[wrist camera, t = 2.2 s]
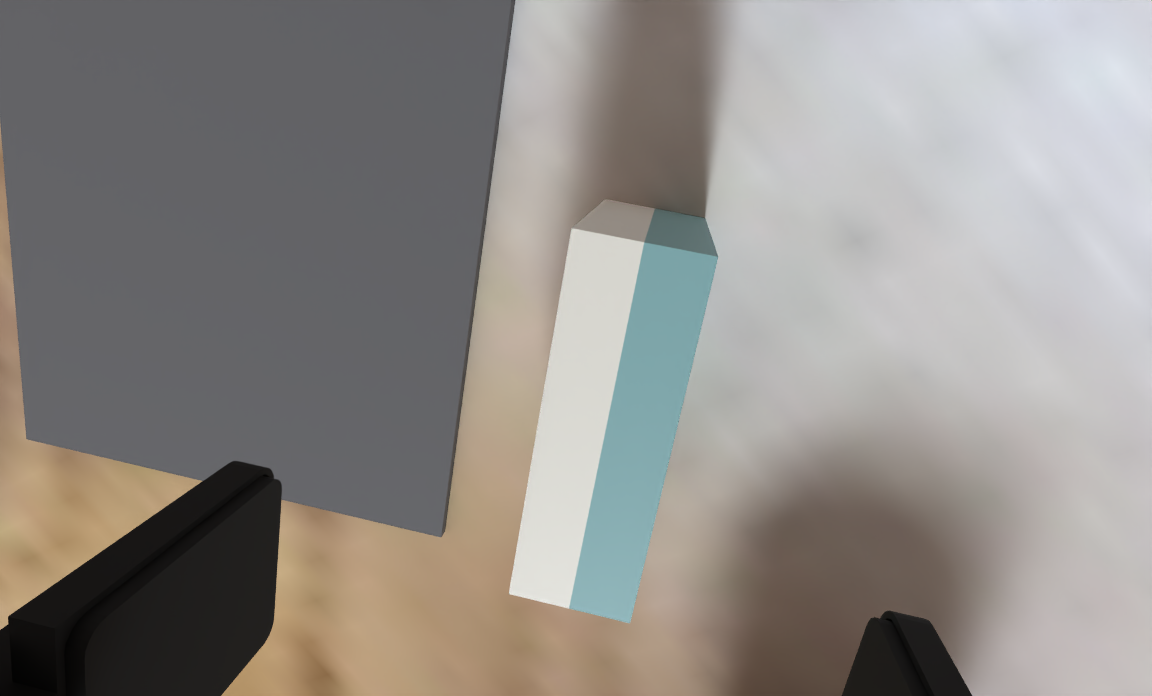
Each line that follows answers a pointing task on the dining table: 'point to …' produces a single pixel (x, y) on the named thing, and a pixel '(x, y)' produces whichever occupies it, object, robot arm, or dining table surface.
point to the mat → (253, 234)
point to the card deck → (611, 404)
